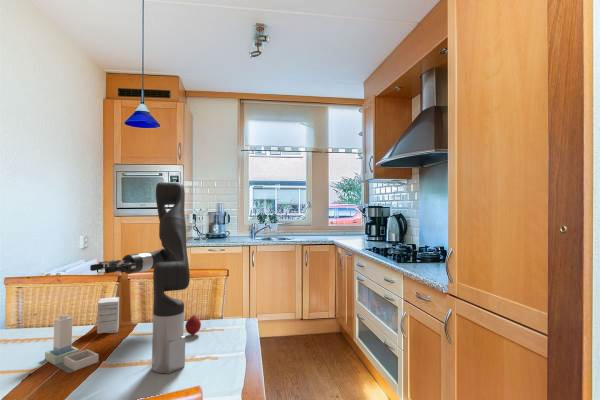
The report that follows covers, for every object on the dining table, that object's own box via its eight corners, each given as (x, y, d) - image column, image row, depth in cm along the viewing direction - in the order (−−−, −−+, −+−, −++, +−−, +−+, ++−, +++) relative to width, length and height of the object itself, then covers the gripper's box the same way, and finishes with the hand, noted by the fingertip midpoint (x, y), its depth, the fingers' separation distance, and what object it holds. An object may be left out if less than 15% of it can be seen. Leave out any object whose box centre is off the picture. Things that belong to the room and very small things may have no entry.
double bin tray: (99, 363, 107) (99, 354, 107) (68, 375, 99) (68, 365, 99) (73, 351, 116) (74, 342, 116) (44, 361, 108) (44, 351, 108)
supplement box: (98, 329, 137) (99, 298, 137) (119, 326, 140) (119, 296, 140) (96, 335, 130) (97, 303, 130) (117, 332, 133) (118, 301, 134)
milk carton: (71, 357, 110) (72, 314, 110) (59, 361, 107) (60, 317, 107) (65, 354, 112) (66, 312, 112) (53, 358, 108) (54, 315, 109)
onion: (195, 338, 128) (196, 317, 128) (182, 337, 129) (182, 316, 130) (203, 333, 134) (203, 313, 134) (190, 331, 135) (190, 312, 135)
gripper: (126, 252, 137) (86, 257, 123) (150, 254, 131) (110, 260, 116) (126, 270, 137) (85, 277, 123) (149, 273, 131) (110, 281, 116)
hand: (98, 269), depth 120 cm, fingers open, 8 cm apart
